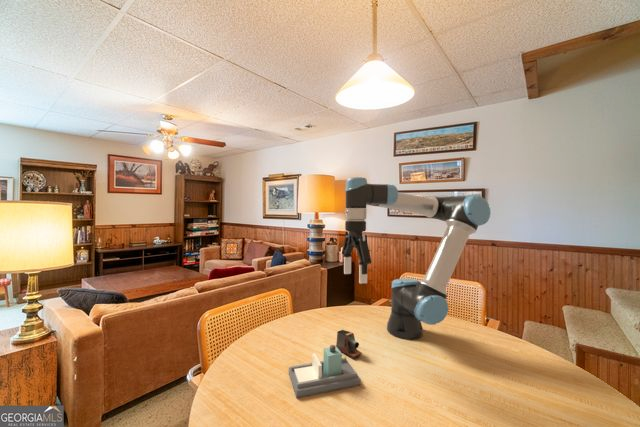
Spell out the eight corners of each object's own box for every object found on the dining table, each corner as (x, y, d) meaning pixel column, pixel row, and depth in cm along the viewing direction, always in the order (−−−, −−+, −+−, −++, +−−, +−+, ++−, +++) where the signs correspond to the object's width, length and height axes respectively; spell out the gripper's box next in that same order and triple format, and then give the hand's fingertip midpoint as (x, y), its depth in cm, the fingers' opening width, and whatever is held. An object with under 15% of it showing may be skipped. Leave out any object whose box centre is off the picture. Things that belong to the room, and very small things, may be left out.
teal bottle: (336, 370, 90) (336, 342, 90) (341, 378, 85) (341, 349, 85) (323, 373, 88) (323, 344, 88) (328, 381, 84) (328, 351, 84)
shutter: (315, 367, 89) (315, 353, 89) (321, 380, 82) (321, 365, 82) (294, 370, 87) (294, 356, 87) (299, 384, 80) (299, 369, 80)
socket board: (345, 363, 95) (345, 355, 95) (360, 385, 83) (360, 375, 83) (288, 373, 89) (288, 364, 89) (296, 398, 77) (296, 387, 77)
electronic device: (353, 360, 97) (353, 339, 97) (335, 349, 104) (335, 330, 104) (361, 356, 100) (362, 335, 100) (343, 346, 107) (343, 327, 107)
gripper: (334, 218, 110) (333, 271, 110) (361, 222, 86) (360, 288, 86) (351, 218, 112) (350, 269, 112) (382, 222, 88) (381, 286, 89)
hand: (354, 278), depth 99 cm, fingers open, 13 cm apart
